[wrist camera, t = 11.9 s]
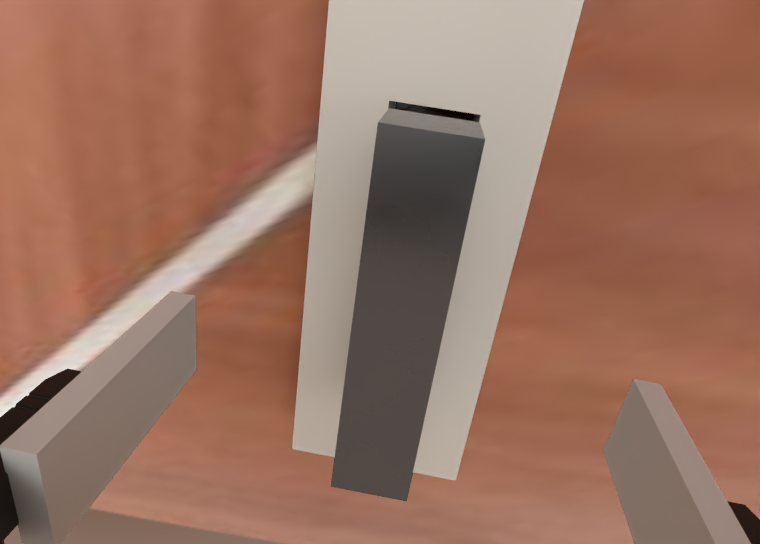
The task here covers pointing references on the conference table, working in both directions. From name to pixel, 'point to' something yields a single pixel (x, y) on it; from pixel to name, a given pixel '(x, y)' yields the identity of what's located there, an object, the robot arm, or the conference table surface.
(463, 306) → the white slotted block
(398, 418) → the dark grey u-shaped bracket
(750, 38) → the conference table surface
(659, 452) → the robot arm
